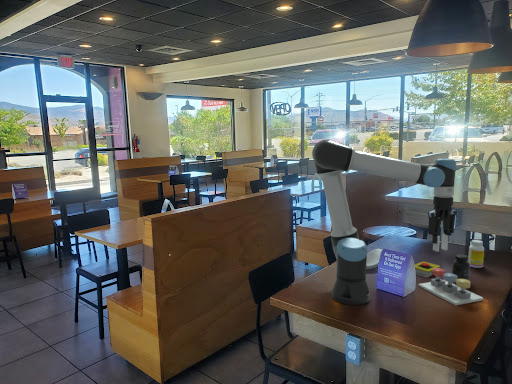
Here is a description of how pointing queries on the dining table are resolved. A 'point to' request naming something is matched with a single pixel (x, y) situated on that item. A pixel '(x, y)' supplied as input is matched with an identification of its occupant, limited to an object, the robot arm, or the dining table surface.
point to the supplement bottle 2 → (476, 254)
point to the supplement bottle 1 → (461, 267)
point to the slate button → (450, 278)
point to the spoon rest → (373, 258)
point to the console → (450, 292)
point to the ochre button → (463, 284)
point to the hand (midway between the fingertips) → (440, 249)
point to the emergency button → (425, 269)
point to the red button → (438, 273)
